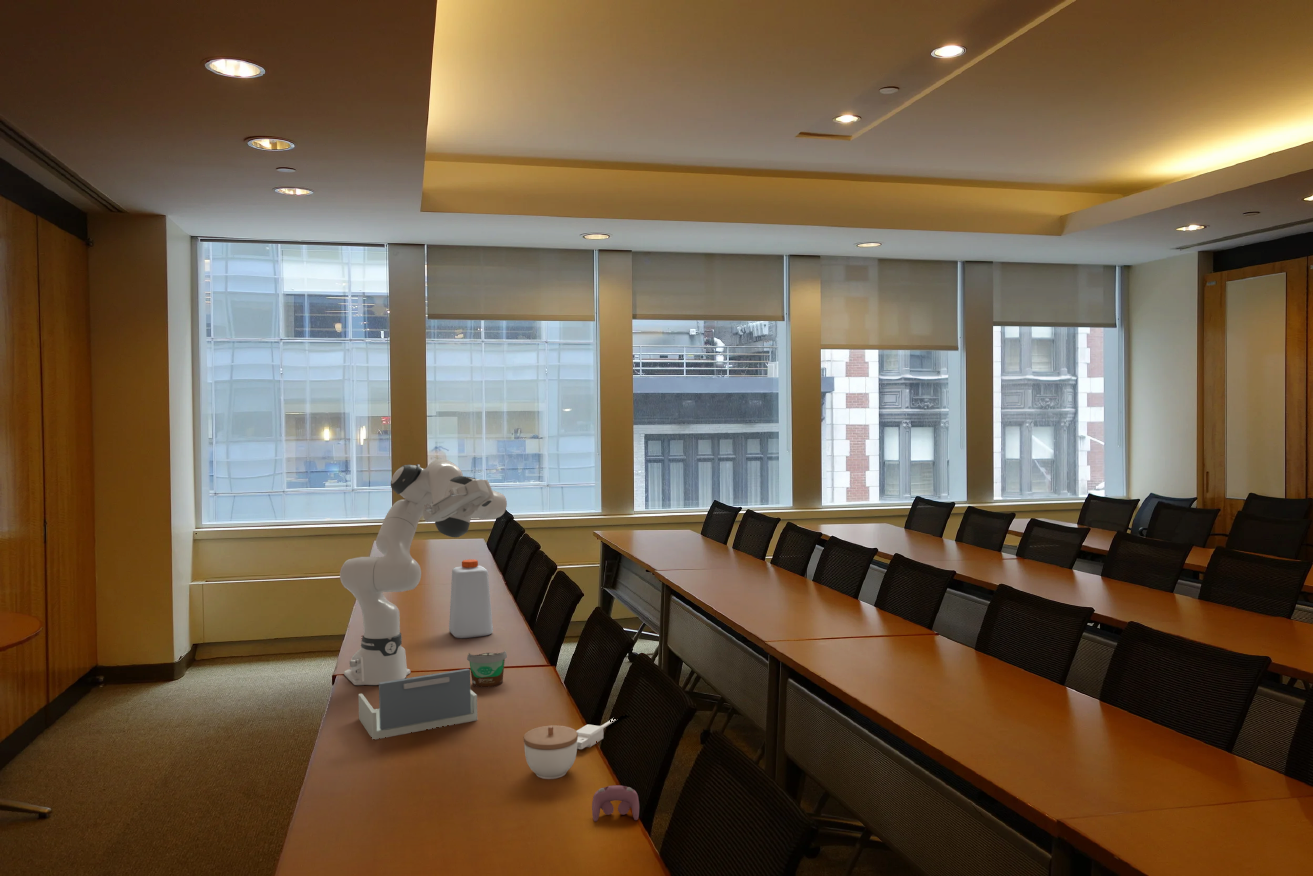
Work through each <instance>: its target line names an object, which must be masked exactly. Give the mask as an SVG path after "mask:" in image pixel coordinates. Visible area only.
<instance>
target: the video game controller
mask: <svg viewBox="0 0 1313 876" xmlns="http://www.w3.org/2000/svg"><path fill="white" fill-rule="evenodd" d="M592 797H593V798H592V803H591V811H592V815H591V816H592V819H593V821H594V822H595V823H596V822H598V820H599V818H600V814H601V810H602V811H603V813H604V815H607V816H609V815H612V814H613V813H614V810H615V809H614V805H613V804H612V803H611V802H615V801H618V802H619V801H621V802H620V803H619V804H618V807H617V811H618V813H619V814H620V815H622V816H624V815H626V814H628V813H629V810H630V809H631V811H632V812H631V813H632V817H633V819H634V821H637V820H638V819H639V816H640V801H639V795H638V793H637V791H636V790H635V789H633V788H632V787H630V786H626V785H619V784H618V785H608V786H605V787H601V788H599V789H597V790H596V791H595V793H594V795H593V796H592Z"/></svg>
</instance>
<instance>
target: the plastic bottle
mask: <svg viewBox="0 0 1313 876" xmlns="http://www.w3.org/2000/svg"><path fill="white" fill-rule="evenodd" d="M490 592H491V591H490V581H489V571H488V569H486V568H485V567H484V566H482V565H479V561H478V560H477V559H473V558H472V559H471V558H469V559H463V560H462V561H461V566H456V567H454V568H453V569H452V570H451V586H450V602H449V603H450V605H449V620H448V621H449V623H448V624H449V625H448V629H449V630H448V631H449V633H451V635H453V637H455V638H457V639H468V638H469V639H471V638H477V637H485V636H490V635H491V634H492V633H493V631H494V627H493V614H492V604H491V603H492V602H491V593H490Z"/></svg>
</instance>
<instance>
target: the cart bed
mask: <svg viewBox="0 0 1313 876" xmlns="http://www.w3.org/2000/svg"><path fill="white" fill-rule="evenodd" d="M470 696H471V713H470V714H465V715H459V716H454V717H448V718H443V719H438V720H432V721H427V722H421V723H416V724H410V725H405V726H399V727H394V728H389V729H383V730H381V729H380V714H379V708H373V706H372V705H371V703H370V702H369V701H368V699H367V698H366V696H364V694H363V693H358V720H359V721H360V723H361V724H362V725H363V727H364V729H365V730H366V732H367V733H368V735H369V736H370V738H371V737H372V738H371V739H372V740H373V739H375V740H380V739H385V737H386V738H391V737H396V736H401V735H407V734H411V732H412V733H416V732H421V731H426V729H428V730H433V729H437V728H436V727H439V728H443V727H442V726H444V727H447V725H449V726H454V724H455V725H459V724H465V723H469V722H470V723H471V722H476V721H478V694H477V693H475V692H474V691H473V690H472V689H471V688H470ZM432 728H433V729H432ZM379 738H380V739H379Z"/></svg>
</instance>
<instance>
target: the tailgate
mask: <svg viewBox="0 0 1313 876" xmlns="http://www.w3.org/2000/svg"><path fill="white" fill-rule="evenodd" d="M470 689H471V669H469V668H464V669H457V670H456V669H455V670H451V671H450V670H449V671H444V672H440V673H439V672H438V673H433V674H426V675H419V676H413V677H405V678H404V679H399V680H393V681H386V682H380V683H379V685H378V706H379V708H378V709H379V714H380V729H381V730H383V729H389V728H394V727H399V726H405V725H410V724H416V723H421V722H427V721H432V720H438V719H443V718H448V717H454V716H459V715H465V714H470V713H471V696H470Z"/></svg>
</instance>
